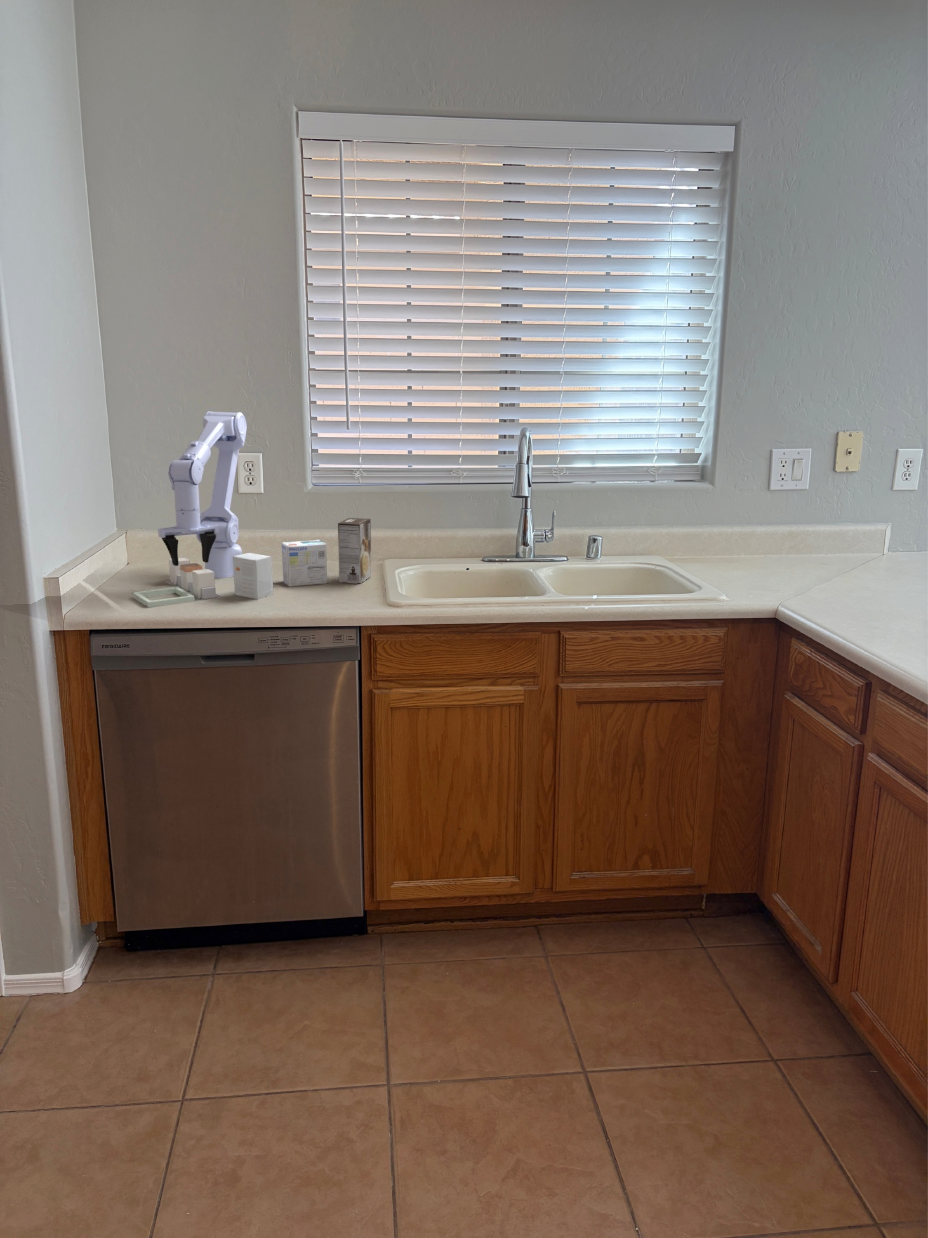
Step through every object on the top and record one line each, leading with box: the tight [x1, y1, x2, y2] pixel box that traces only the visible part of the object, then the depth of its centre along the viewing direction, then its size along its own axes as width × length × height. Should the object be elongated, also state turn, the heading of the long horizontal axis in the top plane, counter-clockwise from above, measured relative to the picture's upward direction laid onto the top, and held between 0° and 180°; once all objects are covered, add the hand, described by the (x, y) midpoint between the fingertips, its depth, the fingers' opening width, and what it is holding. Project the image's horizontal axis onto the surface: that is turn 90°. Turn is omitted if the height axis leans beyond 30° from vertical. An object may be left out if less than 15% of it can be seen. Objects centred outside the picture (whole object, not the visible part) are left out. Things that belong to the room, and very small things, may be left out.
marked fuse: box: [180, 562, 203, 591], centre depth 231 cm, size 4×4×6 cm
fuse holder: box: [165, 575, 221, 601], centre depth 231 cm, size 6×23×3 cm, turn 37°
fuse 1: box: [168, 556, 191, 585], centre depth 237 cm, size 4×4×6 cm
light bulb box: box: [281, 539, 328, 588], centre depth 242 cm, size 11×7×11 cm, turn 115°
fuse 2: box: [192, 568, 216, 598], centre depth 224 cm, size 4×4×6 cm
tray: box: [132, 586, 196, 608], centre depth 221 cm, size 11×11×2 cm
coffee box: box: [337, 517, 372, 584], centre depth 246 cm, size 9×6×16 cm
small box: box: [233, 552, 274, 600], centre depth 226 cm, size 8×6×10 cm
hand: (190, 563), depth 230 cm, fingers open, 7 cm apart
